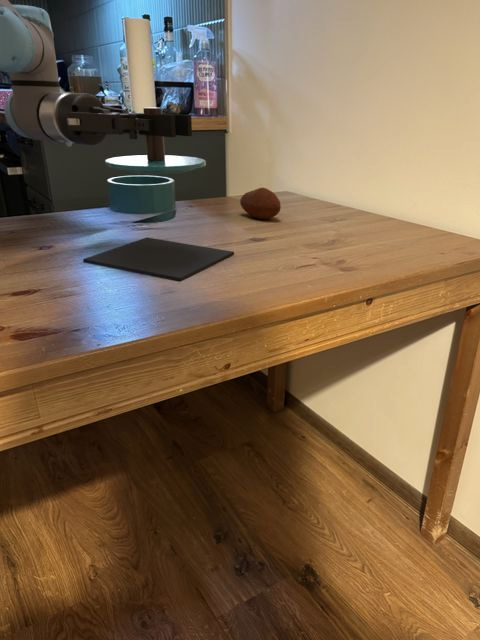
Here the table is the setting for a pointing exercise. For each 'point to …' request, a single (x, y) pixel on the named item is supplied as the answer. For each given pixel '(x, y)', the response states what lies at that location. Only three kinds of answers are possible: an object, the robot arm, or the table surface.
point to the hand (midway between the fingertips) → (181, 126)
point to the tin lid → (155, 157)
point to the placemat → (160, 258)
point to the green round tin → (143, 196)
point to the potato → (260, 203)
